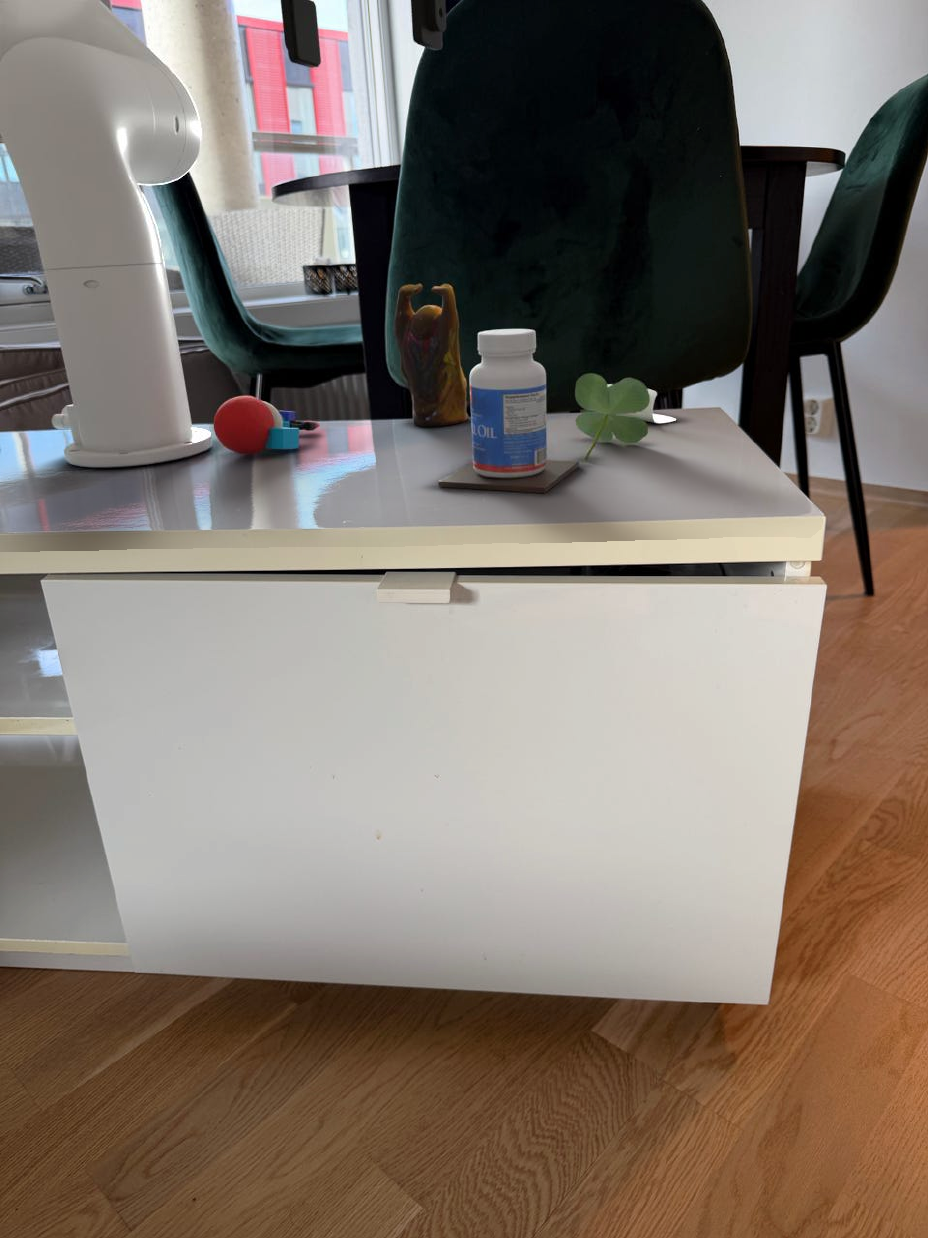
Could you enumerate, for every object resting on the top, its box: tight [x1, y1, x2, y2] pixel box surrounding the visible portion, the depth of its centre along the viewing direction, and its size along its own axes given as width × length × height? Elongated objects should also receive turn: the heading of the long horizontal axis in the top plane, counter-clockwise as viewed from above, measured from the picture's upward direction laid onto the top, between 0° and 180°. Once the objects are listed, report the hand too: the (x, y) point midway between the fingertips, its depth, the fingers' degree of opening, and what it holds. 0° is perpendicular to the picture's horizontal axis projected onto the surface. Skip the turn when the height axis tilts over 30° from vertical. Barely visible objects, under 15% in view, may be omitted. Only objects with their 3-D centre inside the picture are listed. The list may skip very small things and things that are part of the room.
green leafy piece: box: [574, 372, 650, 461], centre depth 70 cm, size 7×8×7 cm
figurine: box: [393, 283, 469, 428], centre depth 85 cm, size 6×7×13 cm
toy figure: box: [213, 395, 320, 455], centre depth 79 cm, size 8×5×15 cm
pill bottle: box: [469, 328, 548, 478], centre depth 62 cm, size 6×5×10 cm
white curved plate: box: [607, 383, 677, 424], centre depth 83 cm, size 4×8×3 cm, turn 31°
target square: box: [437, 459, 580, 494], centre depth 64 cm, size 8×8×1 cm
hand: (365, 55), depth 60 cm, fingers open, 9 cm apart
